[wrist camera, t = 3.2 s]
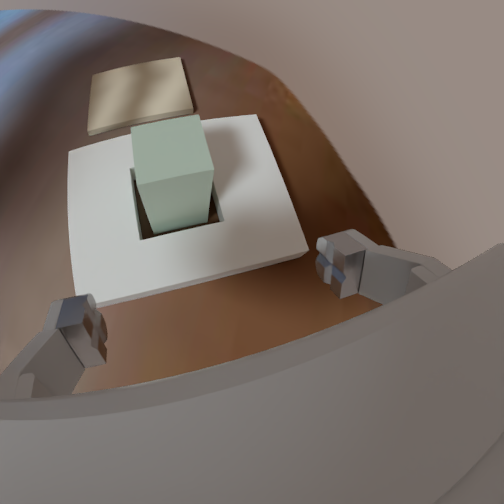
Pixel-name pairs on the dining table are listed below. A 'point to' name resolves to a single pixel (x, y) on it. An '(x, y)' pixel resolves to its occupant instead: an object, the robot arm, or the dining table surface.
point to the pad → (138, 95)
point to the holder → (182, 242)
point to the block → (173, 172)
